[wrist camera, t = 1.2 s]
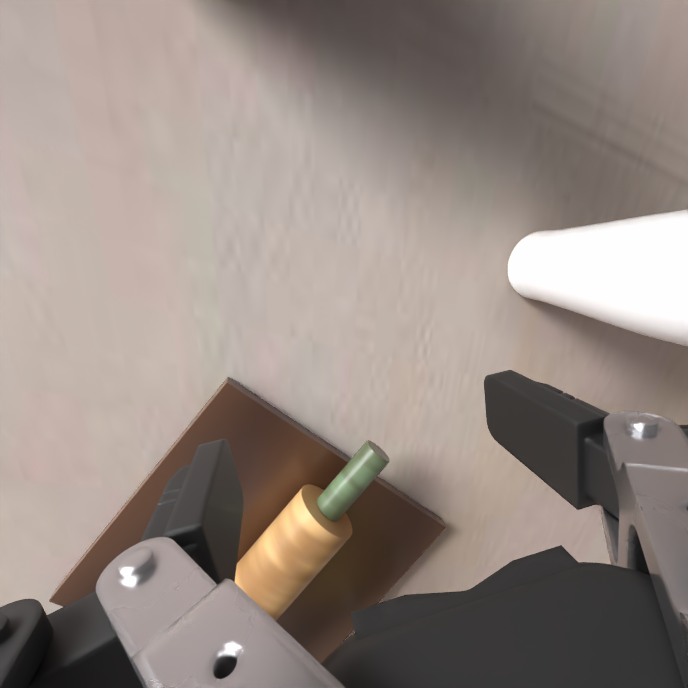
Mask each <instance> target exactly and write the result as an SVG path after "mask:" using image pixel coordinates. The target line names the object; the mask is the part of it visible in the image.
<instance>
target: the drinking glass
mask: <svg viewBox="0 0 688 688" xmlns="http://www.w3.org/2000/svg"><path fill="white" fill-rule="evenodd" d="M507 271H508V278H509V281H510V284H511V286H512V287H513V289H514V290H515V291H516V292H517V293H518V294H520V295H521V296H523V297H526V298H529V299H534V300H538V301H542V302H546V303H549V304H552V305H555V306H558V307H561V308H564V309H567V310H570V311H573V312H576V313H579V314H582V315H585V316H588V317H591V318H594V319H597V320H599V321H602V322H605V323H608V324H611V325H614V326H617V327H620V328H623V329H626V330H629V331H632V332H635V333H638V334H642V335H645V336H648V337H652V338H655V339H659V340H663V341H667V342H671V343H675V344H679V345H684V346H688V210H679V211H672V212H665V213H658V214H652V215H646V216H640V217H634V218H628V219H622V220H616V221H610V222H604V223H598V224H592V225H585V226H579V227H573V228H566V229H560V230H546V231H538V232H534V233H532V234H529V235H528V236H526V237H524V238H523V239H522V240H521V241H520V242H519V243H518V244H517V245H516V246H515V248H514V249H513V251H512V253H511V255H510V258H509V261H508V269H507Z"/></svg>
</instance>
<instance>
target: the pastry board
mask: <svg viewBox="0 0 688 688" xmlns="http://www.w3.org/2000/svg"><path fill="white" fill-rule="evenodd" d="M221 439H227V441H228V443H229V445H230V449H231V452H232V456H233V459H234V462H235V466H236V469H237V473H238V476H239V480H240V483H241V487H242V492H243V502H244V507H243V516H242V524H241V533H240V541H239V550H238V558H237V563H238V562H239V561H240V559H241V558H242V557H243V556H244V555H245V554H246V552H247V551H248V550H249V549H250V548H251V547H252V545H253V544H254V543H255V542H256V541H257V540H258V538H259V537H260V536H261V535H262V534H263V533H264V531H265V530H266V529H267V528H268V527H269V526H270V524H271V523H272V522H273V521H274V520H275V519H276V517H277V516H278V515H279V514H280V513H281V512H282V510H283V509H284V508H285V507H286V506H287V505H288V503H289V502H290V501H291V500H292V499H293V498H294V496H295V495H296V494H297V493H298V492H299V491H300V489H301V488H302V487H303V486H304V485H308V484H310V485H315V486H317V487H319V488H321V489H323V490H325V489H326V488H327V487H328V485H329V484H330V483H331V482H332V481H333V480H334V479H335V477H336V476H337V475H338V474H339V473H340V472H341V470H342V469H343V468H344V467H345V466H346V465H347V463H348V462H349V461H350V460H351V458H349V457H348V456H346V455H345V454H343V453H342V452H340V451H339V450H337V449H336V448H334V447H333V446H331V445H330V444H328V443H327V442H325V441H324V440H322V439H321V438H319V437H318V436H316V435H315V434H313V433H312V432H310V431H309V430H307V429H306V428H304V427H303V426H301V425H300V424H298V423H297V422H295V421H294V420H292V419H291V418H289V417H288V416H286V415H285V414H283V413H282V412H280V411H279V410H277V409H276V408H274V407H273V406H271V405H270V404H268V403H267V402H265V401H264V400H262V399H261V398H259V397H258V396H256V395H255V394H253V393H252V392H250V391H249V390H247V389H246V388H244V387H243V386H241V385H240V384H238V383H237V382H235V381H234V380H232V379H231V378H229V377H228V378H227V379H226V380H225V381H224V383H223V384H222V385H221V386H220V387H219V389H218V390H217V391H216V392H215V394H214V395H213V396H212V397H211V399H210V400H209V401H208V402H207V404H206V405H205V406H204V407H203V408H202V410H201V411H200V412H199V413H198V415H197V416H196V417H195V418H194V420H193V421H192V422H191V423H190V424H189V426H188V427H187V428H186V429H185V431H184V432H183V433H182V434H181V436H180V437H179V438H178V439H177V440H176V442H175V443H174V444H173V445H172V447H171V448H170V449H169V450H168V452H167V453H166V454H165V455H164V456H163V458H162V459H161V460H160V461H159V463H158V464H157V465H156V466H155V468H154V469H153V470H152V471H151V473H150V474H149V475H148V476H147V477H146V479H145V480H144V481H143V482H142V484H141V485H140V486H139V487H138V489H137V490H136V491H135V492H134V493H133V495H132V496H131V497H130V498H129V500H128V501H127V502H126V503H125V505H124V506H123V507H122V508H121V509H120V511H119V512H118V513H117V514H116V516H115V517H114V518H113V519H112V521H111V522H110V523H109V524H108V525H107V527H106V528H105V529H104V530H103V532H102V533H101V534H100V535H99V537H98V538H97V539H96V540H95V542H94V543H93V544H92V545H91V546H90V548H89V549H88V550H87V551H86V553H85V554H84V555H83V556H82V558H81V559H80V560H79V561H78V562H77V564H76V565H75V566H74V567H73V569H72V570H71V571H70V572H69V574H68V575H67V576H66V577H65V578H64V580H63V581H62V582H61V583H60V585H59V586H58V587H57V589H56V590H55V592H54V593H53V595H52V597H51V598H50V600H49V602H52V603H55V604H58V605H60V606H63V607H65V606H67V605H69V604H71V603H73V602H75V601H77V600H79V599H81V598H83V597H84V596H86V595H88V594H90V593H92V592H94V591H96V584H97V581H98V579H99V577H100V575H101V573H102V572H103V571H104V569H105V568H106V567H107V566H108V565H109V564H110V563H111V562H112V561H113V560H114V559H115V558H116V557H117V556H118V555H120V554H121V553H122V552H124V551H125V550H127V549H128V548H130V547H132V546H134V545H136V544H138V543H140V541H141V538H142V536H143V534H144V532H145V530H146V528H147V525H148V523H149V521H150V519H151V517H152V515H153V513H154V510H155V508H156V507H157V504H158V502H159V500H160V497H161V496H163V494H162V493H163V491H164V489H165V487H166V485H167V482H168V480H169V479H170V478H171V477H172V476H173V475H174V474H175V473H176V472H177V471H178V470H179V469H180V468H181V467H183V466H187V465H191V462H192V460H193V457H194V455H195V452H196V450H197V447H198V445H200V444H205V443H209V442H213V441H217V440H221ZM346 514H347V516H348V517H349V519H350V522H351V525H352V535H351V537H350V538H349V539H348V540H347V541H346V542H345V544H344V545H343V546H342V547H341V548H340V549H339V550H338V552H337V553H336V554H335V555H334V556H333V557H332V558H331V559H330V561H329V562H328V563H327V564H326V565H325V566H324V567H323V569H322V570H321V571H320V572H319V573H318V574H317V575H316V577H315V578H314V579H313V580H312V581H311V582H310V583H309V584H308V586H307V587H306V588H305V589H304V590H303V591H302V592H301V594H300V595H299V596H298V597H297V598H296V599H295V600H294V601H293V603H292V604H291V605H290V606H289V607H288V608H287V609H286V611H285V612H284V613H283V614H282V615H281V616H280V617H279V618H278V620H277V621H276V622H277V623H278V624H279V625H280V626H281V627H282V628H283V629H284V630H285V631H286V632H287V633H288V634H290V635H291V636H292V637H293V638H294V639H295V640H296V641H297V642H298V643H299V644H300V645H301V646H302V647H303V648H304V649H305V650H306V651H307V652H309V653H310V654H311V655H312V656H313V657H314V658H315V659H316V660H317V661H318V662H319V663H320V664H321V662H322V661H323V660H324V659H325V658H326V657H327V656H328V655H329V654H330V653H331V652H332V651H333V650H334V649H335V648H336V647H338V646H339V645H340V644H341V643H342V642H343V641H344V640H345V639H346V637H347V636H348V635H349V634H350V633H351V632H352V631H353V630H354V626H353V621H352V617H351V612H354V611H357V610H360V609H363V608H366V607H369V606H372V605H375V604H377V603H378V602H379V601H380V600H381V599H382V598H383V597H384V596H385V594H386V593H387V592H388V591H389V590H390V589H391V588H392V587H393V586H394V584H395V583H396V582H397V581H398V580H399V579H400V578H401V577H402V576H403V575H404V573H405V572H406V571H407V570H408V569H409V568H410V567H411V566H412V565H413V563H414V562H415V561H416V560H417V559H418V558H419V557H420V556H421V555H422V554H423V552H424V551H425V550H426V549H427V548H428V547H429V546H430V545H431V544H432V543H433V541H434V540H435V539H436V538H437V537H438V536H439V535H440V534H441V533H442V531H443V530H444V529H445V528H446V526H445V525H444V523H443V522H442V520H441V519H440V518H439V517H437V516H436V515H434V514H433V513H431V512H430V511H428V510H427V509H425V508H424V507H422V506H421V505H419V504H418V503H416V502H415V501H413V500H412V499H410V498H409V497H407V496H406V495H404V494H403V493H401V492H400V491H398V490H397V489H395V488H394V487H392V486H391V485H389V484H388V483H386V482H385V481H383V480H382V479H380V478H379V477H378V476H377V477H376V478H375V479H374V480H373V481H372V482H371V484H370V485H369V486H368V487H367V488H366V489H365V490H364V492H363V493H362V494H361V495H360V496H359V497H358V498H357V500H356V501H355V502H354V503H353V504H352V505H351V506H350V508H349V509H348V510H347V511H346Z"/></svg>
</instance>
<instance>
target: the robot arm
mask: <svg viewBox="0 0 688 688" xmlns="http://www.w3.org/2000/svg"><path fill="white" fill-rule="evenodd" d="M484 390H485V404H486V417H487V425H488V428H489V431H490V433H491V435H492V436H493V438H494V439H495V440H496V441H497V442H498V443H499V444H500V445H502V446H503V447H504V448H505V449H506V450H507V451H509V452H510V453H511V454H512V455H513V456H515V457H516V458H517V459H518V460H519V461H520V462H522V463H523V464H524V465H525V466H526V467H528V468H529V469H530V470H531V471H532V472H534V473H535V474H536V475H537V476H538V477H539V478H541V479H542V480H543V481H544V482H545V483H547V484H548V485H549V486H550V487H551V488H552V489H554V490H555V491H556V492H557V493H558V494H560V495H561V496H562V497H563V498H564V499H565V500H567V501H568V502H569V503H570V504H571V505H573V506H574V507H575V508H576V509H577V510H579V509H582V508H586V507H589V506H592V505H595V504H600V505H601V506H602V523H603V528H604V533H605V538H606V543H607V547H608V552H609V557H610V562H611V565H609V564H602V563H587V562H580V563H578V562H577V561H576V560H575V559H574V558H573V557H572V556H571V555H570V554H569V553H568V552H567V551H566V550H565V549H564V548H563V547H562V546H558V547H554V548H551V549H548V550H545V551H542V552H539V553H536V554H532V555H529V556H526V557H523V558H520V559H517V560H514V561H512V562H510V563H509V564H507V565H506V566H504V567H503V568H501V569H500V570H498V571H497V572H495V573H494V574H492V575H491V576H489V577H488V578H486V579H485V580H484V581H482V582H481V583H479V584H478V585H476V586H475V587H473V588H471V589H470V590H467V591H461V592H445V593H429V594H412V595H404V596H401V597H397V598H394V599H391V600H388V601H385V602H382V603H379V604H375V605H372V606H369V607H366V608H363V609H360V610H357V611H354V612H351V617H352V621H353V626H354V631H355V634H354V635H352V636H351V637H349V638H348V639H346V640H345V641H343V642H342V643H341V644H340V645H339V646H338V647H336V648H335V649H334V650H333V651H332V652H331V653H330V654H329V655H328V656H327V657H326V658H325V659H324V660H323V661H322V662H321V664H320V663H319V662H318V661H317V660H316V659H315V658H314V657H313V656H312V655H311V654H310V653H309V652H307V651H306V650H305V649H304V648H303V647H302V646H301V645H300V644H299V643H298V642H297V641H296V640H295V639H294V638H293V637H292V636H291V635H290V634H288V633H287V632H286V631H285V630H284V629H283V628H282V627H281V626H280V625H279V624H278V623H277V622H276V621H275V620H274V619H273V618H272V617H271V616H269V615H268V614H267V613H266V612H265V611H264V610H263V609H262V608H261V607H260V606H259V605H258V604H257V603H256V602H255V601H254V600H253V599H251V598H250V597H249V596H248V595H247V594H246V593H245V592H244V591H243V590H242V589H241V588H240V587H239V586H238V585H237V584H236V583H235V575H236V566H237V558H238V550H239V541H240V533H241V524H242V516H243V507H244V502H243V492H242V487H241V483H240V480H239V476H238V473H237V469H236V466H235V462H234V459H233V456H232V452H231V449H230V445H229V443H228V441H227V439H221V440H217V441H213V442H209V443H205V444H200V445H198V447H197V450H196V452H195V455H194V457H193V460H192V462H191V465H187V466H183V467H181V468H180V469H179V470H178V471H177V472H176V473H175V474H174V475H173V476H172V477H171V478H170V479H169V480H168V482H167V485H166V487H165V489H164V491H163V493H162V494H163V496H161V497H160V500H159V502H158V504H157V507H156V508H155V510H154V513H153V515H152V517H151V519H150V521H149V523H148V525H147V528H146V530H145V532H144V534H143V536H142V538H141V541H140V543H138V544H136V545H134V546H132V547H130V548H128V549H127V550H125V551H124V552H122V553H121V554H120V555H118V556H117V557H116V558H115V559H114V560H113V561H112V562H111V563H110V564H109V565H108V566H107V567H106V568H105V569H104V571H103V572H102V573H101V575H100V577H99V579H98V581H97V584H96V591H94V592H92V593H90V594H88V595H86V596H84V597H83V598H81V599H79V600H77V601H75V602H73V603H71V604H69V605H67V606H65V607H63V608H61V609H59V610H57V611H55V612H53V613H51V614H49V615H46V613H45V611H44V609H43V607H42V605H41V603H40V602H39V601H37V600H34V599H24V600H19V601H15V602H12V603H10V604H7V605H5V606H3V607H0V688H688V428H687V429H681V428H680V426H679V425H677V424H676V423H675V422H673V421H671V420H669V419H667V418H664V417H662V416H658V415H655V414H650V413H645V412H635V411H625V412H617V413H613V414H609V413H607V412H605V411H603V410H600V409H598V408H596V407H594V406H592V405H590V404H588V403H586V402H584V401H582V400H580V399H575V398H574V397H573V396H571V395H569V394H567V393H563V391H561V390H559V389H557V388H555V387H552V386H550V385H548V384H543V383H539V382H535V381H533V380H531V379H529V378H527V377H525V376H523V375H521V374H518V373H516V372H514V371H512V370H508V371H504V372H500V373H495V374H491V375H488V376H486V377H485V380H484Z"/></svg>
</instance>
